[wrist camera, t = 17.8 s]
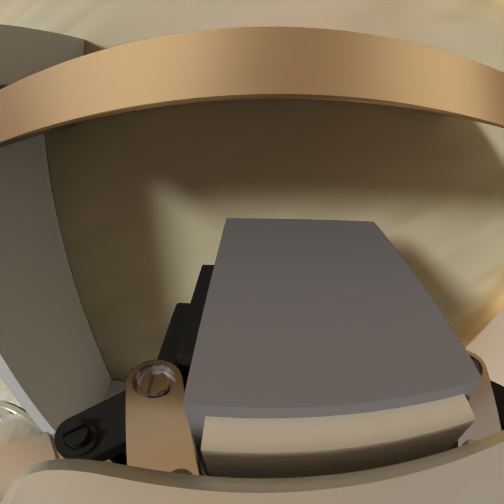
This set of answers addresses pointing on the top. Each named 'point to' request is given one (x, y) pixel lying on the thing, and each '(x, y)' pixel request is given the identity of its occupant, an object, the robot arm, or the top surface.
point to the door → (250, 77)
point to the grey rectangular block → (321, 355)
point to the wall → (41, 265)
